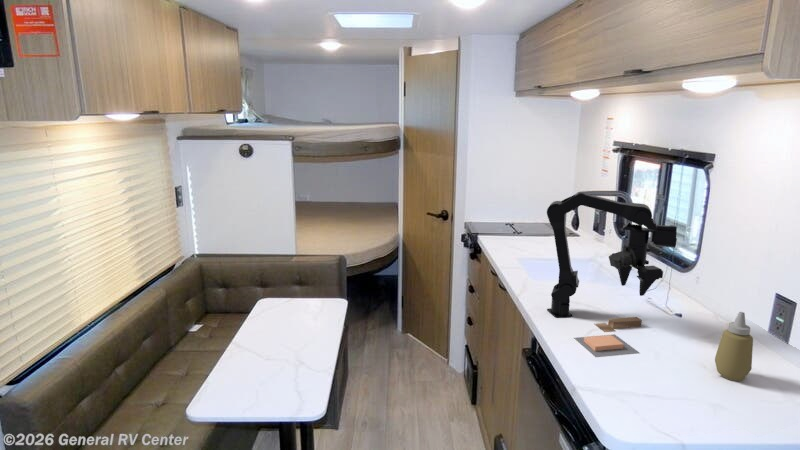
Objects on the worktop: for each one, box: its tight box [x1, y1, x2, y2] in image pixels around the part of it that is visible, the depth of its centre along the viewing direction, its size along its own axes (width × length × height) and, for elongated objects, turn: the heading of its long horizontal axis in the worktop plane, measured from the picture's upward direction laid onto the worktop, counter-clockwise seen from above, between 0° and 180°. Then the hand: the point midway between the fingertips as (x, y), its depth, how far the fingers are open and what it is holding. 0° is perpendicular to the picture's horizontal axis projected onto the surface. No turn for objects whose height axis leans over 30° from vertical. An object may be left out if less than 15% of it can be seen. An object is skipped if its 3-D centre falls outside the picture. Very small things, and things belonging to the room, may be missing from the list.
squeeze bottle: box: [714, 311, 754, 382], centre depth 122 cm, size 8×8×18 cm
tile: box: [583, 334, 624, 351], centre depth 139 cm, size 6×2×9 cm
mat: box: [573, 333, 640, 358], centre depth 140 cm, size 12×14×1 cm
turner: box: [593, 316, 643, 333], centre depth 152 cm, size 6×14×3 cm, turn 99°
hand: (632, 290), depth 152 cm, fingers open, 9 cm apart
